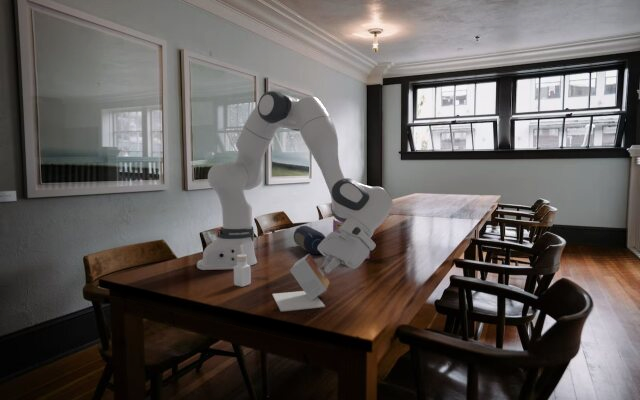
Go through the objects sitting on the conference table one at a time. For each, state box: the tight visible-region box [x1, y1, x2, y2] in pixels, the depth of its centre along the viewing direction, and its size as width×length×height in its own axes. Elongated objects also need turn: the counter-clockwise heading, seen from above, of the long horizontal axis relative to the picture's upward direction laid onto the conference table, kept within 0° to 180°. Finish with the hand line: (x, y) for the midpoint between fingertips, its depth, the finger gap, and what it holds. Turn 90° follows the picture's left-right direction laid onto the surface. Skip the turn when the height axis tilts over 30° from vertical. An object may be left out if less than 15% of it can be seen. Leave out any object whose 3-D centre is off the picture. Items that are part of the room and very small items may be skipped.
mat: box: [271, 290, 326, 313], centre depth 112 cm, size 12×14×1 cm
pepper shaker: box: [233, 254, 252, 288], centre depth 127 cm, size 4×4×10 cm
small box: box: [289, 253, 330, 300], centre depth 114 cm, size 8×6×10 cm
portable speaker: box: [293, 225, 326, 256], centre depth 178 cm, size 25×10×10 cm, turn 19°
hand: (323, 270), depth 114 cm, fingers closed
